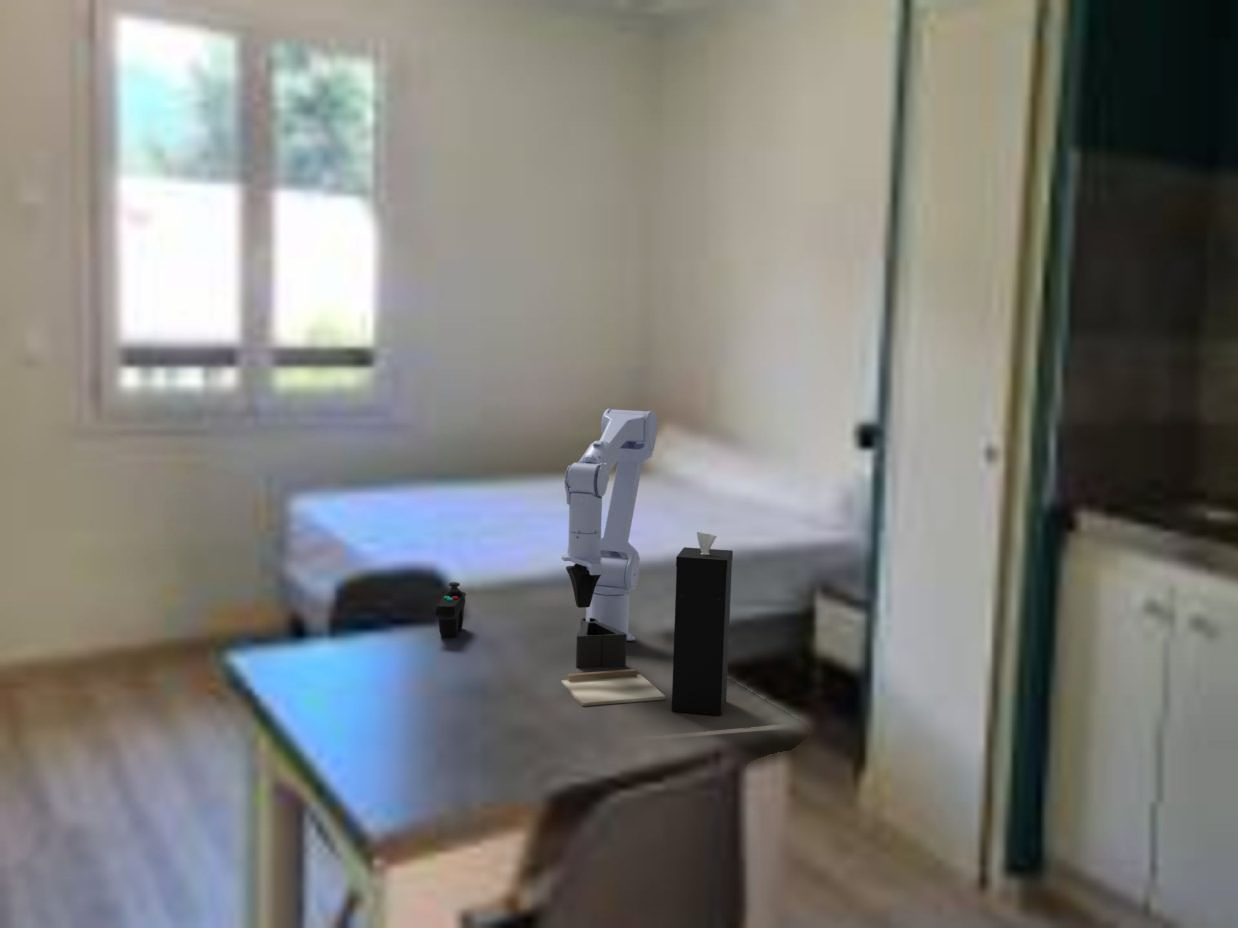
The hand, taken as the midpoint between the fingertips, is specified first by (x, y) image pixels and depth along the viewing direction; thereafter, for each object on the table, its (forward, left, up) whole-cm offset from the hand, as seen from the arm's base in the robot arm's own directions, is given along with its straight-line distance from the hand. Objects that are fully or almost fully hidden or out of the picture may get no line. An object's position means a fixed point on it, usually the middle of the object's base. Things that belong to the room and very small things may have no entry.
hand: (583, 606), depth 208 cm
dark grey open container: (+5, +2, -7) cm, 9 cm away
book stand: (+17, 0, -10) cm, 20 cm away
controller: (-19, -20, -10) cm, 29 cm away
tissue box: (+28, +11, -10) cm, 32 cm away
